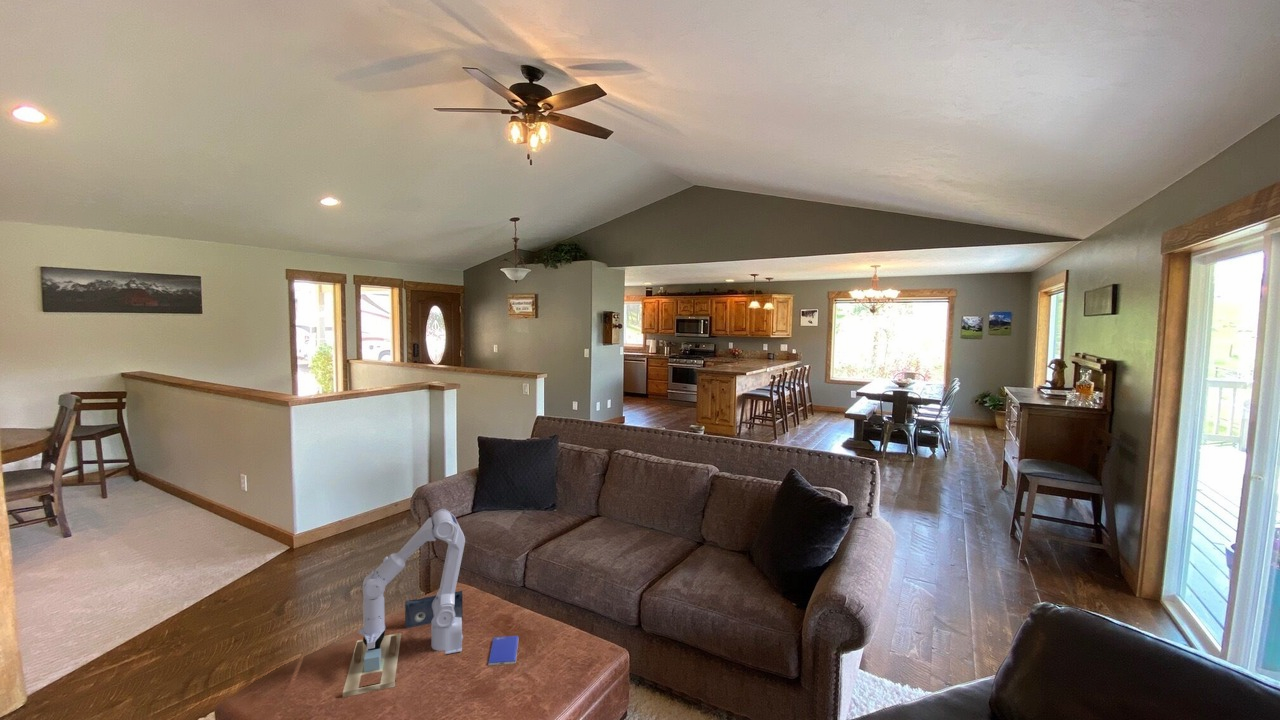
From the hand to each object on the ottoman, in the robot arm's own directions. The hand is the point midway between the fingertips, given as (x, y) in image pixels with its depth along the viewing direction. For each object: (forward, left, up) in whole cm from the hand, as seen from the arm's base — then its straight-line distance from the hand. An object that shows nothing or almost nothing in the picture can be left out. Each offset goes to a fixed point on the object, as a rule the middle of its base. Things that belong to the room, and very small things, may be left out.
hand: (374, 656), depth 154 cm
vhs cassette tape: (-17, -16, -3) cm, 23 cm away
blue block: (0, +3, -1) cm, 3 cm away
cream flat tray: (0, 0, -2) cm, 3 cm away
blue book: (-38, +6, -3) cm, 38 cm away
